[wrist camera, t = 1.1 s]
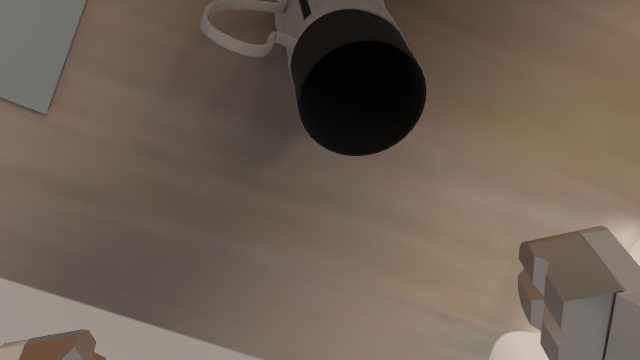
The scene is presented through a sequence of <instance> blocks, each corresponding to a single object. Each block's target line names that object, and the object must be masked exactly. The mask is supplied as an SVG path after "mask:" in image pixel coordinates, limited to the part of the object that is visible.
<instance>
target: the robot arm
mask: <svg viewBox="0 0 640 360" xmlns="http://www.w3.org/2000/svg"><path fill="white" fill-rule="evenodd" d="M519 260H520V261H521V263H522V265H523V267H524V269H523V270H522V272H521V273H520V274H519V275H518V292H519V297H520V302H521V305H522V308H523V311H524V313H525V315H526V317H527V319H528V321H529V323H530V325H532V326H534V327H535V328H537V329H539V330H541V345H542V347H543V349H544V351H545V353H546V355H547V356H548V358H549V360H640V266H639V265H638V264H637V263H636V262H635V260H633V258H632V257H631V256H630V254H629V253H628V252H627V251H626V250H625V249H624V247H623V246H622V245H621V244H620V243H619V241H618V240H617V239H616V238H615V237H614V235H613V234H612V233H611V232H610V231H609V229H608V228H606V227H604V226H597V227H593V228H588V229H583V230H578V231H575V232H569V233H565V234H560V235H555V236H550V237H545V238H540V239H536V240H531V241H526V242H522V243H521V245H520V248H519ZM95 344H96V341H95V339H94V338H93V336H92V335H91V333H90V332H89V331H88V330H77V331H72V332H66V333H60V334H54V335H48V336H43V337H37V338H31V339H29V340H23V341H17V342H11V343H5V344H3V345H2V346H1V347H0V360H106V359H105V358H104V357H103V356H100V355H98V354H96V353H95V352H94V349H95Z"/></svg>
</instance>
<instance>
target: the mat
mask: <svg viewBox="0 0 640 360" xmlns="http://www.w3.org/2000/svg"><path fill="white" fill-rule="evenodd" d="M86 3H87V0H0V97H1V98H3V99H6V100H9V101H11V102H14V103H16V104H19V105H22V106H24V107H27V108H30V109H32V110H35V111H38V112H40V113H43V114H47V112H48V111H49V108H50V105H51V102H52V100H53V97H54V94H55V91H56V88H57V85H58V83H59V80H60V77H61V74H62V71H63V68H64V66H65V63H66V60H67V57H68V54H69V51H70V48H71V46H72V43H73V40H74V37H75V34H76V31H77V29H78V26H79V23H80V20H81V17H82V14H83V12H84V9H85V6H86Z"/></svg>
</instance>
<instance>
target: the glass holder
mask: <svg viewBox="0 0 640 360" xmlns="http://www.w3.org/2000/svg"><path fill="white" fill-rule="evenodd" d="M228 9H240V10H254V11H262V12H272V13H275V14H274V16H275V26H276V30H277V32H271V33H270V34H269V36H268V38H267V41H266V44H261V45H257V44H249V43H246V42H242V41H240V40H237V39H235V38H232V37H230V36H228V35H226V34H224V33H222V32H221V31H219V30H218V29H216V28H215V27H214V26H213V25H212V24H211V23H210V22H209V20H208V16H210V15H211V14H212V13H215V12H218V11H221V10H228ZM200 27H201V31H202V32H203V33H204V34H205V35H206V36H207V37H208V38H209V39H211V40H212V41H214V42H215V43H217V44H218V45H220V46H222V47H224V48H226V49H228V50H231V51H233V52H236V53H239V54H242V55H246V56H250V57H264V56H267V55H268V54H269V53H270V52H271V51H272V48H273V45H274V43H277V44H281V45H284V47H285V51H286V57H287V63H288V69H289V74H290V78H291V82H292V85H293V88H294V90H295V92H296V98H297V104H298V109H299V114H300V118H301V121H302V123H303V125H304V127H305V129H306V131H307V132H308V133H309V135H310V136H311V137H312V138H313V139H314V140H315V141H316V142H317V143H318V144H320V145H321V146H323V147H324V148H326V149H328V150H330V151H333V152H335V153H339V154H343V155H350V156H362V155H370V154H374V153H378V152H381V151H383V150H386V149H388V148H390V147H391V146H393V145H395V144H397V143H398V142H399V141H401V140H402V139H403V138H404V137H406V135H407V134H408V133H409V132H410V131H411V130H412V129H413V128H414V126H415V125H416V123H417V122H418V120H419V118H420V116H421V114H422V112H423V108H424V105H425V101H426V83H425V78H424V75H423V72H422V70H421V68H420V66H419V64H418V63H417V61H416V59H415V58H414V56H413V54H412V51H411V49H410V46H409V44H408V42H407V40H406V39H405V37H404V35H403V34H402V32H401V30H400V29H399V27H398V26H397V24H396V22H395V21H394V19H393V18H392V16H391V15H390V13H389V12H388V10H387V8H386V7H385V3H384V0H277V1H276V3H275V2H266V1H258V0H216V1H212V2H211V3H209V4H208V5H207V6H206V7H205V8H204V10H203V13H202V16H201V19H200Z"/></svg>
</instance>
